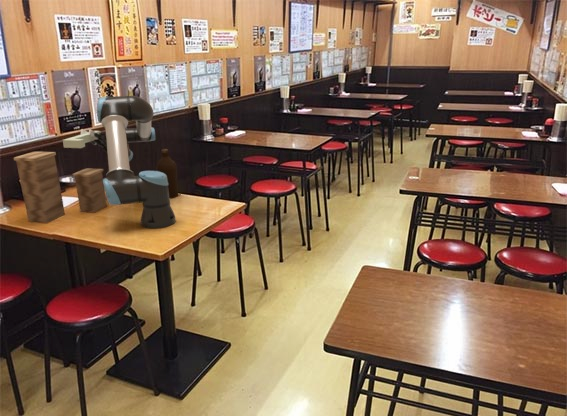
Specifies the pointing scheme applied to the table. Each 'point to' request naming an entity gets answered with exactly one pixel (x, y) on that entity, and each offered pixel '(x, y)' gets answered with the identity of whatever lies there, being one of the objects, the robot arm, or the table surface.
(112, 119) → the robot arm
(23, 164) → the tall wooden block
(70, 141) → the crook
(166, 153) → the olive oil
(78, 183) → the short wooden block stack
